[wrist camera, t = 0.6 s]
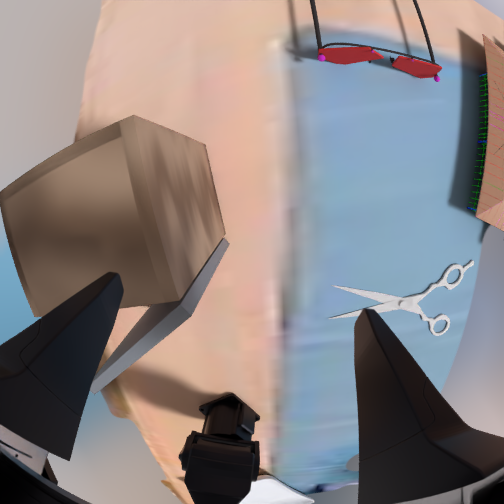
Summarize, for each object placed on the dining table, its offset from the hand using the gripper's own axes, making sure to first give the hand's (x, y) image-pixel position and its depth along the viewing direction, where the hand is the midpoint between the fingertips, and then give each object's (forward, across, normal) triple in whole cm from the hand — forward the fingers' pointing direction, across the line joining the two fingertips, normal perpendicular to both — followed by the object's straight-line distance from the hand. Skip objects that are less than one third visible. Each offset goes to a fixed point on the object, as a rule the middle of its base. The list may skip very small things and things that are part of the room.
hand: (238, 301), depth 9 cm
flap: (+14, +6, +13) cm, 20 cm away
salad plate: (-4, -8, +62) cm, 62 cm away
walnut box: (+17, +10, +6) cm, 21 cm away
